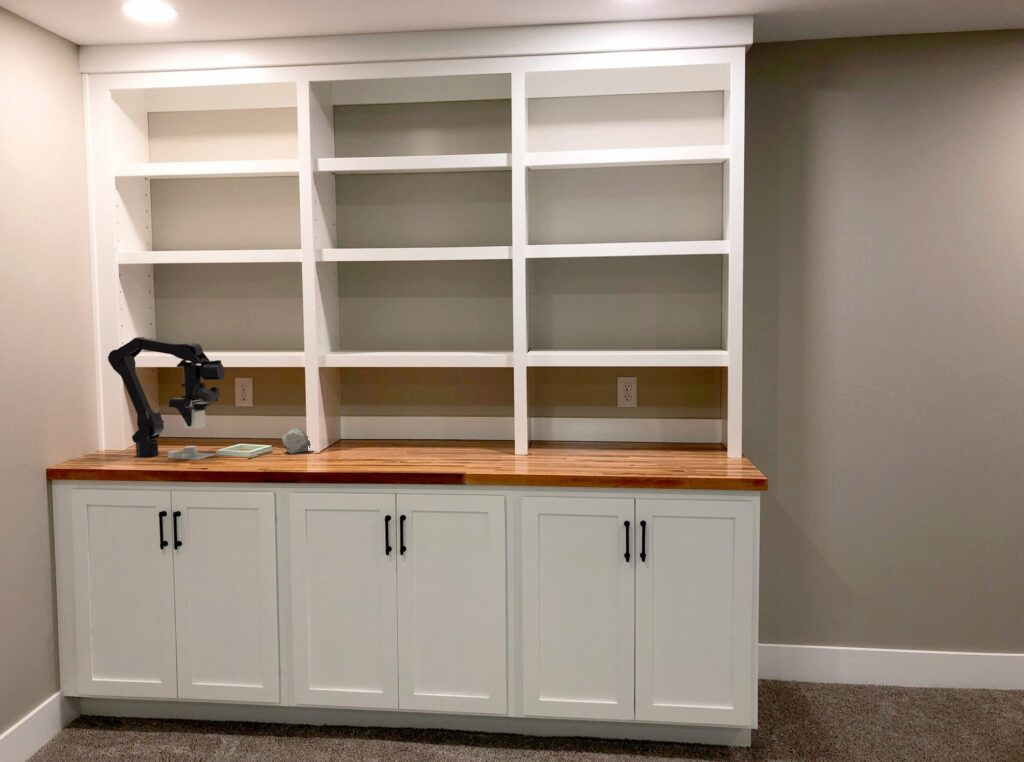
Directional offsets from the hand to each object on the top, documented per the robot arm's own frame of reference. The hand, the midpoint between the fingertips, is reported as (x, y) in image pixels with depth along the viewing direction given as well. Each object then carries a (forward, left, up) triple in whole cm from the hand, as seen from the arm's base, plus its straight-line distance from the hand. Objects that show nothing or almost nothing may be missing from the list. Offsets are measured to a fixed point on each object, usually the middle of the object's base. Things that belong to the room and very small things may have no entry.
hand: (194, 425), depth 290 cm
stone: (+27, +20, -12) cm, 36 cm away
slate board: (-1, 0, -12) cm, 12 cm away
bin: (+12, +11, -12) cm, 20 cm away
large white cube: (0, 0, -1) cm, 1 cm away
